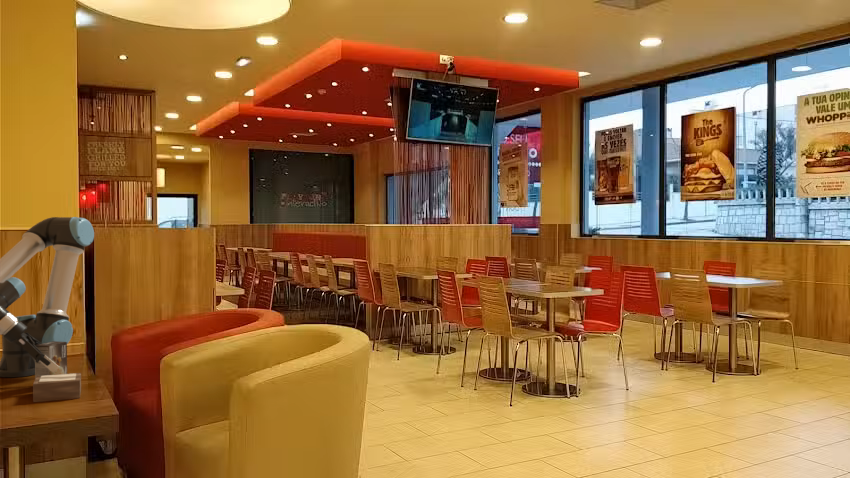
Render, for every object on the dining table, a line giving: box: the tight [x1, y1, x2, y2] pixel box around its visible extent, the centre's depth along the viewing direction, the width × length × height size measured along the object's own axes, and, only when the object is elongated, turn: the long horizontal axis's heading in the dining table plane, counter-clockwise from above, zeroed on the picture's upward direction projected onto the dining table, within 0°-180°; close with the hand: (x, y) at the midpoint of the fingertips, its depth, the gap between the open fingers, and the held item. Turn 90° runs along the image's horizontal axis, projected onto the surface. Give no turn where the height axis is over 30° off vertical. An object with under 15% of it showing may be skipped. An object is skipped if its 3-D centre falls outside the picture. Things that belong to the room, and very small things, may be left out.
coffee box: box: [34, 341, 68, 380], centre depth 253 cm, size 9×6×16 cm
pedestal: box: [32, 372, 82, 403], centre depth 240 cm, size 14×14×6 cm
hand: (58, 366), depth 254 cm, fingers open, 13 cm apart
